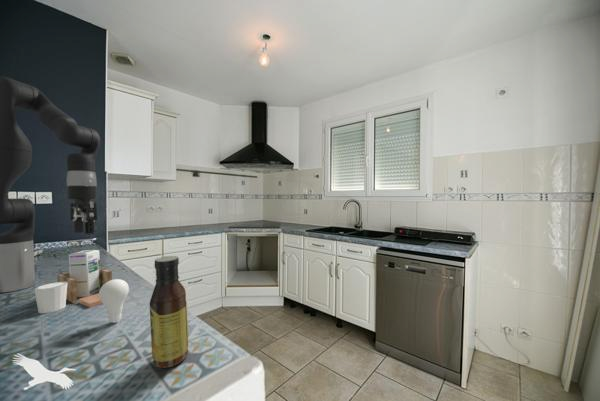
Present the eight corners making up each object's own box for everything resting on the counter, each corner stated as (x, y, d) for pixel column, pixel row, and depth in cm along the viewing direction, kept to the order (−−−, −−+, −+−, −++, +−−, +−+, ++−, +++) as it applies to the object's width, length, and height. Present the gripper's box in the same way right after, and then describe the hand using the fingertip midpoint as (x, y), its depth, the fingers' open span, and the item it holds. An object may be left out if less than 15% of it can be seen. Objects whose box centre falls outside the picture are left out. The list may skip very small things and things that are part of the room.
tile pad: (79, 302, 75) (78, 298, 75) (110, 293, 82) (110, 289, 82) (89, 307, 71) (89, 303, 71) (122, 297, 78) (121, 293, 78)
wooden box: (58, 295, 81) (57, 274, 81) (95, 285, 90) (95, 267, 90) (73, 303, 75) (72, 280, 75) (112, 291, 84) (111, 271, 84)
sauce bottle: (162, 350, 50) (159, 254, 50) (193, 348, 50) (190, 252, 50) (144, 373, 43) (140, 262, 43) (180, 370, 44) (177, 261, 44)
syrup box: (88, 296, 80) (87, 252, 79) (69, 297, 79) (68, 253, 79) (101, 290, 85) (100, 249, 85) (83, 291, 85) (82, 250, 85)
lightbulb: (135, 318, 64) (134, 276, 64) (110, 330, 58) (109, 285, 58) (119, 315, 66) (118, 275, 66) (93, 326, 60) (92, 282, 60)
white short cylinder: (47, 315, 67) (46, 290, 67) (28, 313, 69) (27, 288, 68) (74, 304, 74) (73, 281, 74) (57, 303, 75) (56, 280, 75)
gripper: (59, 186, 82) (61, 233, 82) (76, 183, 75) (78, 235, 75) (87, 186, 89) (89, 230, 89) (105, 184, 82) (107, 232, 82)
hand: (84, 233), depth 82 cm, fingers open, 8 cm apart
